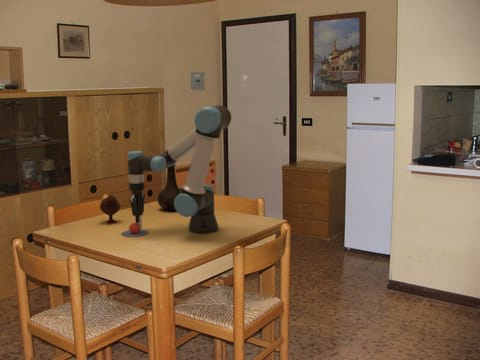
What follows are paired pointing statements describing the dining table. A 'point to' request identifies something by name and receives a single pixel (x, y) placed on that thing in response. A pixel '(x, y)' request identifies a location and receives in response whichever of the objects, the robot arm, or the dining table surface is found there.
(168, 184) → the dark brown vase
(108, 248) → the dining table surface
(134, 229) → the ball
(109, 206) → the ice cream bowl
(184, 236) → the dining table surface
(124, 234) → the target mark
